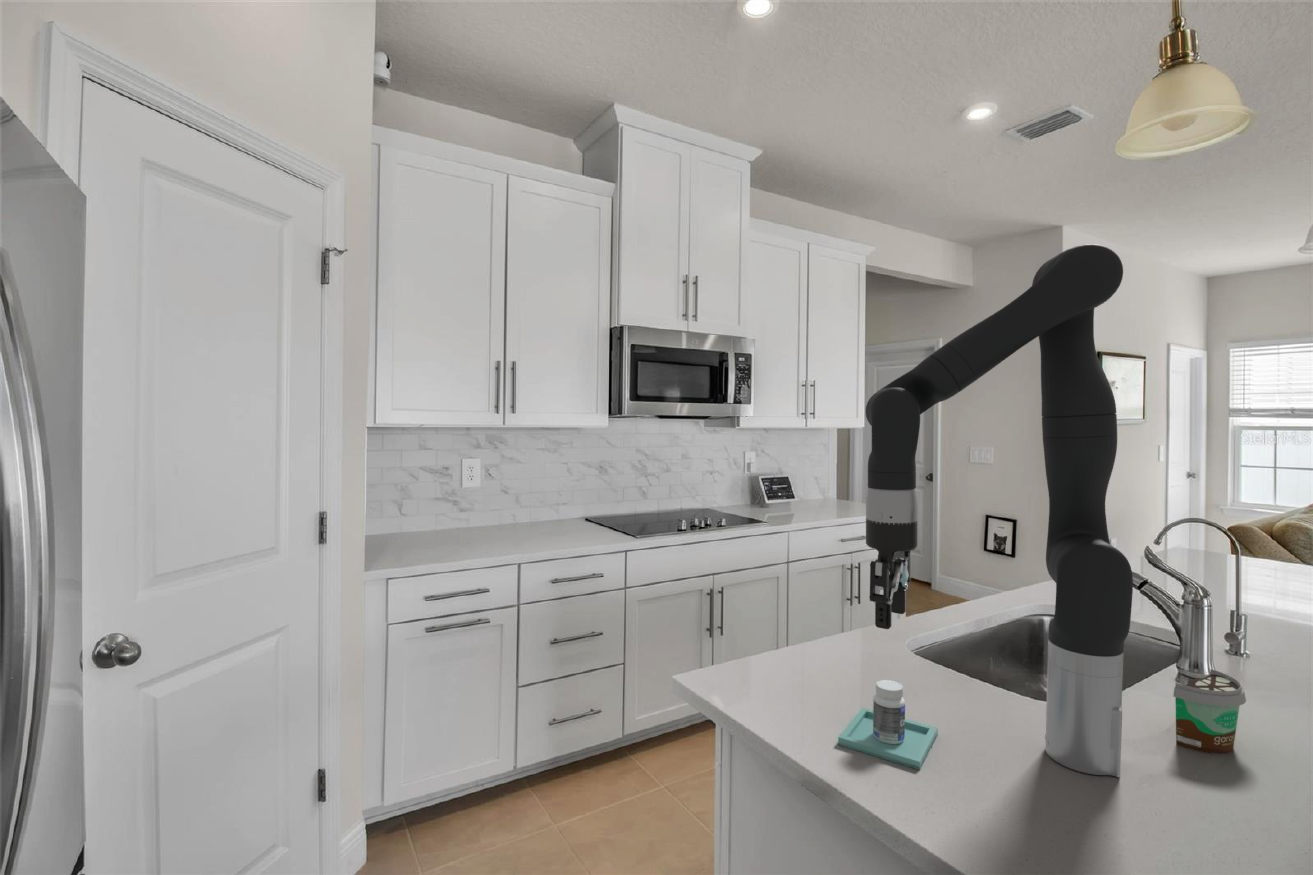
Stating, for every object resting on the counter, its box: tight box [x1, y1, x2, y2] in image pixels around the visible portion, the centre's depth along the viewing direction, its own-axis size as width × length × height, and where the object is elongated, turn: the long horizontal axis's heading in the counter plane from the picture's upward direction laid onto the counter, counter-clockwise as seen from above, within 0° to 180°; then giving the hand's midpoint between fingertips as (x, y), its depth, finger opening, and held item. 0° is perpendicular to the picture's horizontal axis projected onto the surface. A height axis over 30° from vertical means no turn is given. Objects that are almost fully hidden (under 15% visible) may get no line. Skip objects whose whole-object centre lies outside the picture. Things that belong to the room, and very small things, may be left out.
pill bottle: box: [872, 679, 906, 744], centre depth 100 cm, size 5×5×8 cm
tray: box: [837, 706, 939, 771], centre depth 100 cm, size 12×12×1 cm
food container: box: [1172, 668, 1247, 755], centre depth 98 cm, size 12×6×10 cm, turn 118°
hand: (891, 620), depth 99 cm, fingers open, 8 cm apart
